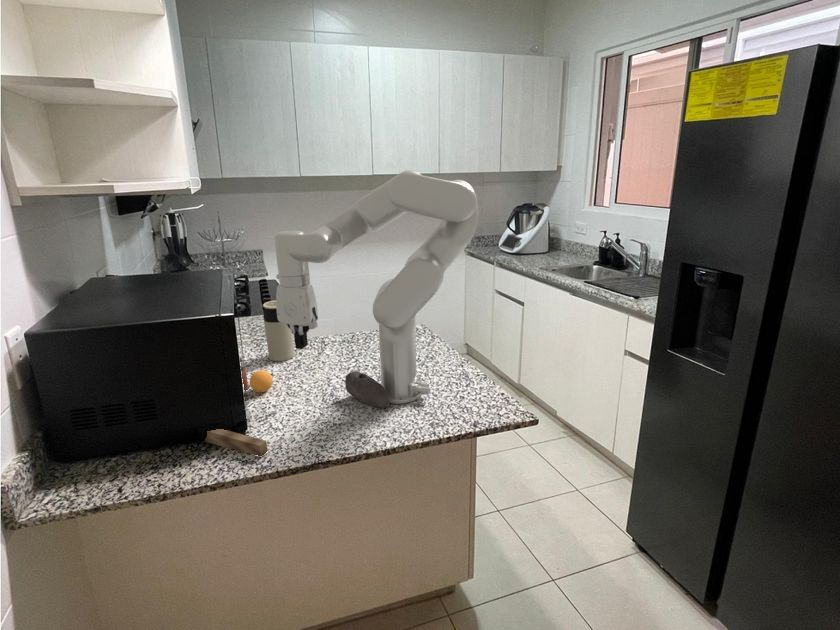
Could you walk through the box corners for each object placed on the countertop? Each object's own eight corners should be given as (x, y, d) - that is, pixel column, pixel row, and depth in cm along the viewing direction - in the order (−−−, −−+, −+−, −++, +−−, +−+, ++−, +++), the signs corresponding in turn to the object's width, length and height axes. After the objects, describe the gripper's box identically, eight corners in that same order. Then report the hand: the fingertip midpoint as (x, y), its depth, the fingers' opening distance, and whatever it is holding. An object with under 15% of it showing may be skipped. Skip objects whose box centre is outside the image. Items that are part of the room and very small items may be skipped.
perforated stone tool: (396, 408, 124) (395, 383, 122) (381, 416, 121) (380, 391, 119) (359, 389, 134) (357, 366, 132) (344, 396, 131) (342, 373, 129)
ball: (250, 378, 137) (271, 372, 138) (254, 397, 134) (276, 391, 136) (245, 370, 131) (267, 364, 133) (249, 391, 129) (272, 384, 130)
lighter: (222, 387, 137) (216, 354, 134) (231, 382, 140) (226, 350, 137) (242, 393, 133) (237, 360, 130) (252, 388, 136) (247, 355, 133)
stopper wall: (267, 452, 107) (266, 440, 106) (261, 457, 105) (260, 445, 104) (206, 435, 114) (204, 424, 113) (200, 439, 112) (197, 428, 111)
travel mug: (279, 364, 151) (272, 309, 145) (263, 358, 156) (256, 304, 150) (299, 355, 157) (294, 302, 151) (284, 350, 162) (277, 298, 156)
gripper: (261, 281, 123) (269, 348, 129) (310, 286, 117) (316, 356, 123) (280, 274, 129) (287, 338, 135) (327, 279, 123) (333, 345, 129)
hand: (301, 346), depth 129 cm, fingers closed
